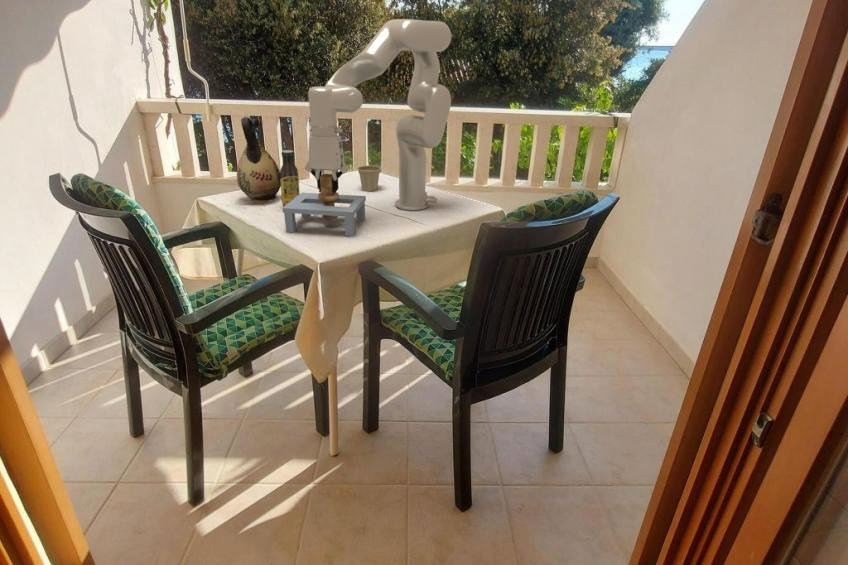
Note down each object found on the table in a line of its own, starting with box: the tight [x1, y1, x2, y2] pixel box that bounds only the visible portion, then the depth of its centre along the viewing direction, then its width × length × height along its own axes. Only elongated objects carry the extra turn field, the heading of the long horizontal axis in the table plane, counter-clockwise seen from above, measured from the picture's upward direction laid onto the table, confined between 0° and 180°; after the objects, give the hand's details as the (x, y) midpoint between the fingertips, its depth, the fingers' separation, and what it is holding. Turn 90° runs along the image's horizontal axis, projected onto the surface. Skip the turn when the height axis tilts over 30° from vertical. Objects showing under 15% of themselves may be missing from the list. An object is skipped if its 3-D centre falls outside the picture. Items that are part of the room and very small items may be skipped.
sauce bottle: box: [279, 149, 301, 208], centre depth 172 cm, size 6×6×20 cm
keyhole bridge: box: [281, 192, 367, 238], centre depth 158 cm, size 17×22×8 cm
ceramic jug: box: [236, 116, 281, 204], centre depth 176 cm, size 17×15×30 cm
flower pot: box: [356, 165, 382, 192], centre depth 197 cm, size 9×9×9 cm
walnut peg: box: [318, 173, 340, 220], centre depth 155 cm, size 6×6×14 cm
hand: (328, 190), depth 155 cm, fingers closed on walnut peg, 3 cm apart
